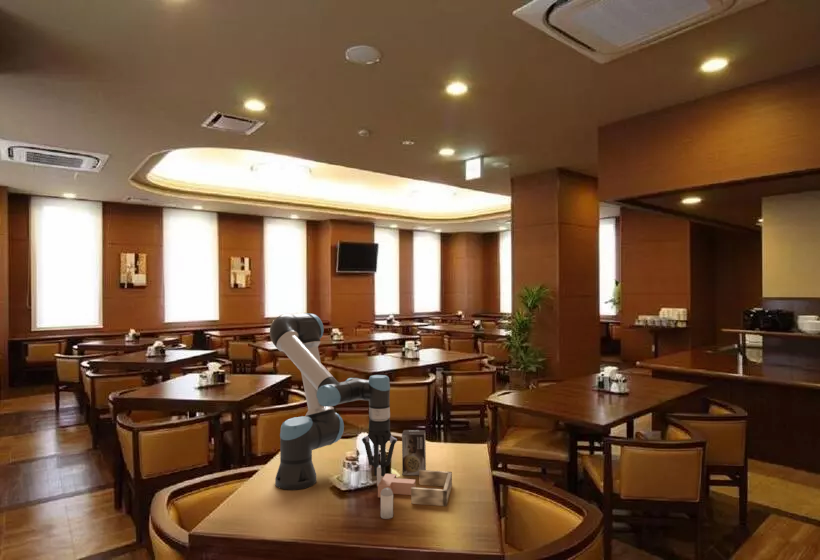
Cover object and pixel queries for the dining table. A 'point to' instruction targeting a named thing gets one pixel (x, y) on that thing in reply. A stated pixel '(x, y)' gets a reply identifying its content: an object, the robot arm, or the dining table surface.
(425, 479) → the bay
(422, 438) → the coffee box
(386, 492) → the cylinder
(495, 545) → the dining table surface
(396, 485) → the t block
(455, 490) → the dining table surface
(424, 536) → the dining table surface
